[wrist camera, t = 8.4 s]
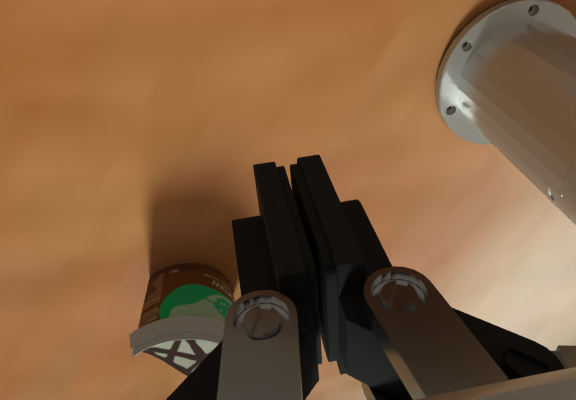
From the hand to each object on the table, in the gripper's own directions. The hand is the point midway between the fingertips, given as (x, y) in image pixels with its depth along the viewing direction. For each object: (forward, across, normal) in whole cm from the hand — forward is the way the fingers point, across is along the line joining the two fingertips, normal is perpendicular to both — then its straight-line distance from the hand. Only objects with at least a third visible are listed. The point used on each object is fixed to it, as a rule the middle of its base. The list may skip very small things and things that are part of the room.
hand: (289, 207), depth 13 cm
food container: (+27, +6, +28) cm, 40 cm away
